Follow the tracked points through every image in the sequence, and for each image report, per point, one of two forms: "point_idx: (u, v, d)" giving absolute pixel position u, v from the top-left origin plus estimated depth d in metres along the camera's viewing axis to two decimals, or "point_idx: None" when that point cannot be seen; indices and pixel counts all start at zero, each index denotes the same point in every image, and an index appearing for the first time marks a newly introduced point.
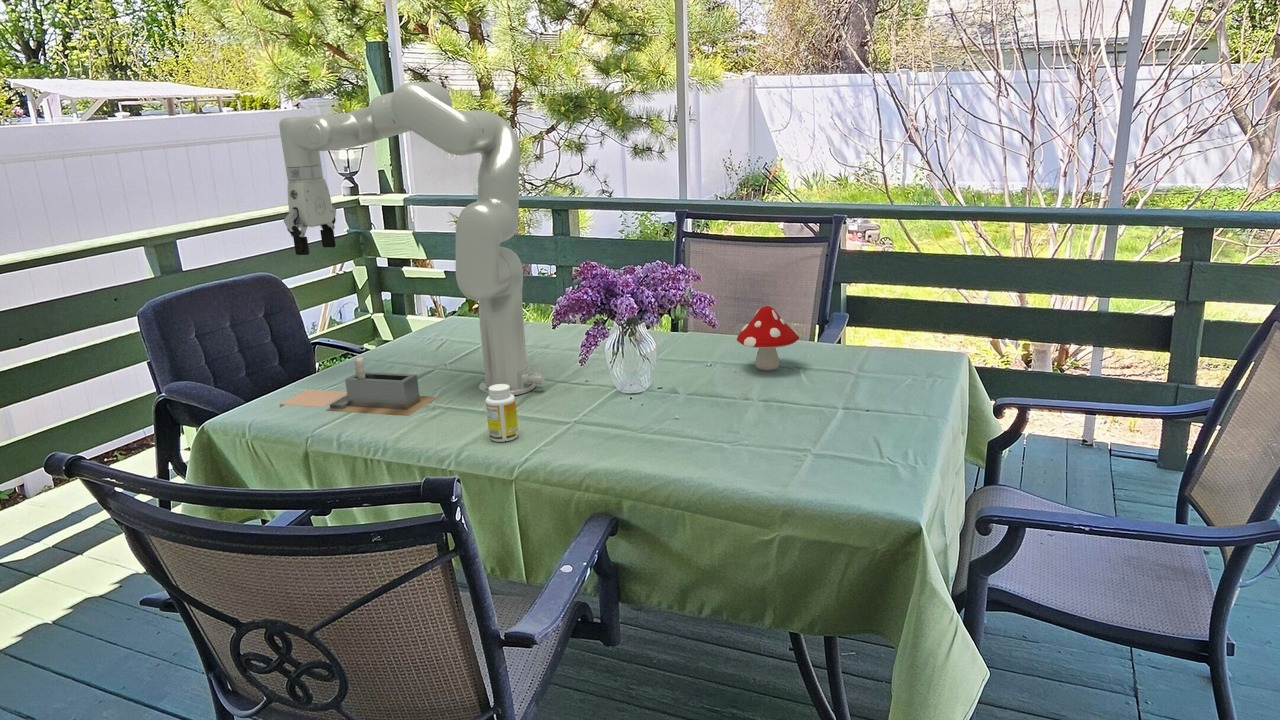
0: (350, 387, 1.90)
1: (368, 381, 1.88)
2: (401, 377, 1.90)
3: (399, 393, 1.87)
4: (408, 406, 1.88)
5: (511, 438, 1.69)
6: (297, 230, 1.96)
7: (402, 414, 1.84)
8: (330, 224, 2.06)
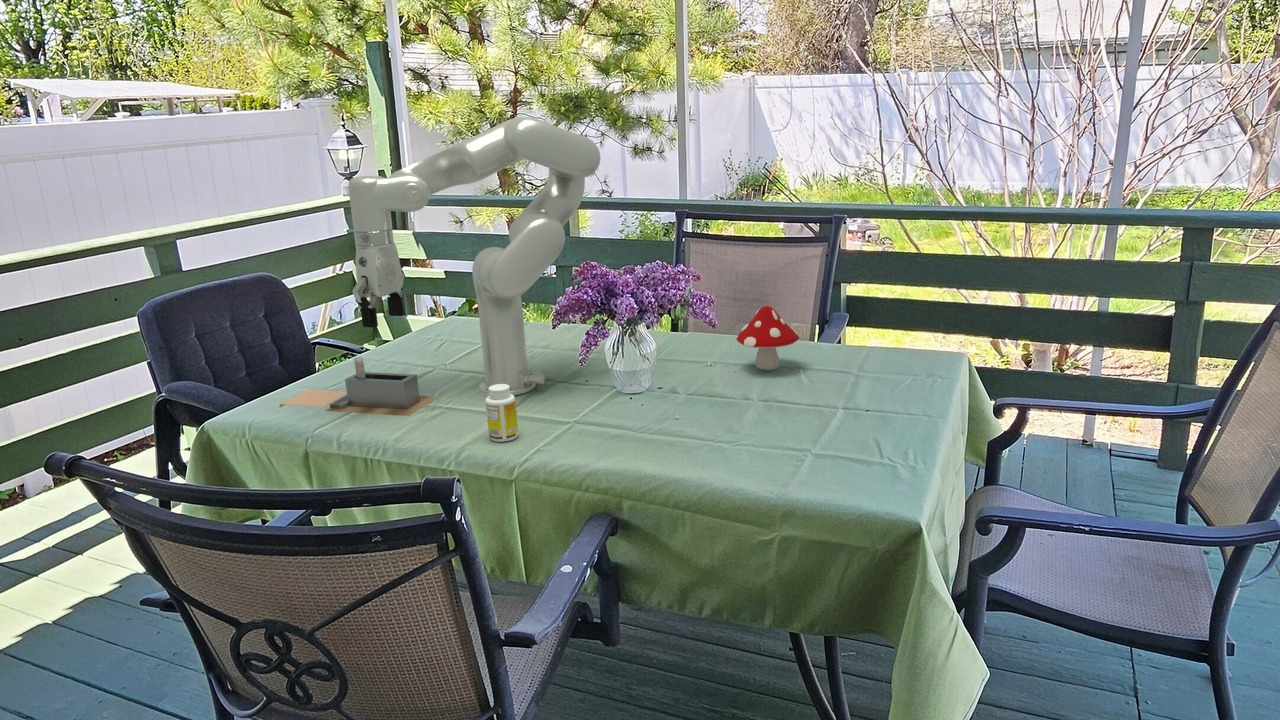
0: (350, 387, 1.90)
1: (368, 381, 1.88)
2: (401, 377, 1.90)
3: (399, 393, 1.87)
4: (408, 406, 1.88)
5: (511, 438, 1.69)
6: (366, 301, 1.78)
7: (402, 414, 1.84)
8: (398, 291, 1.88)
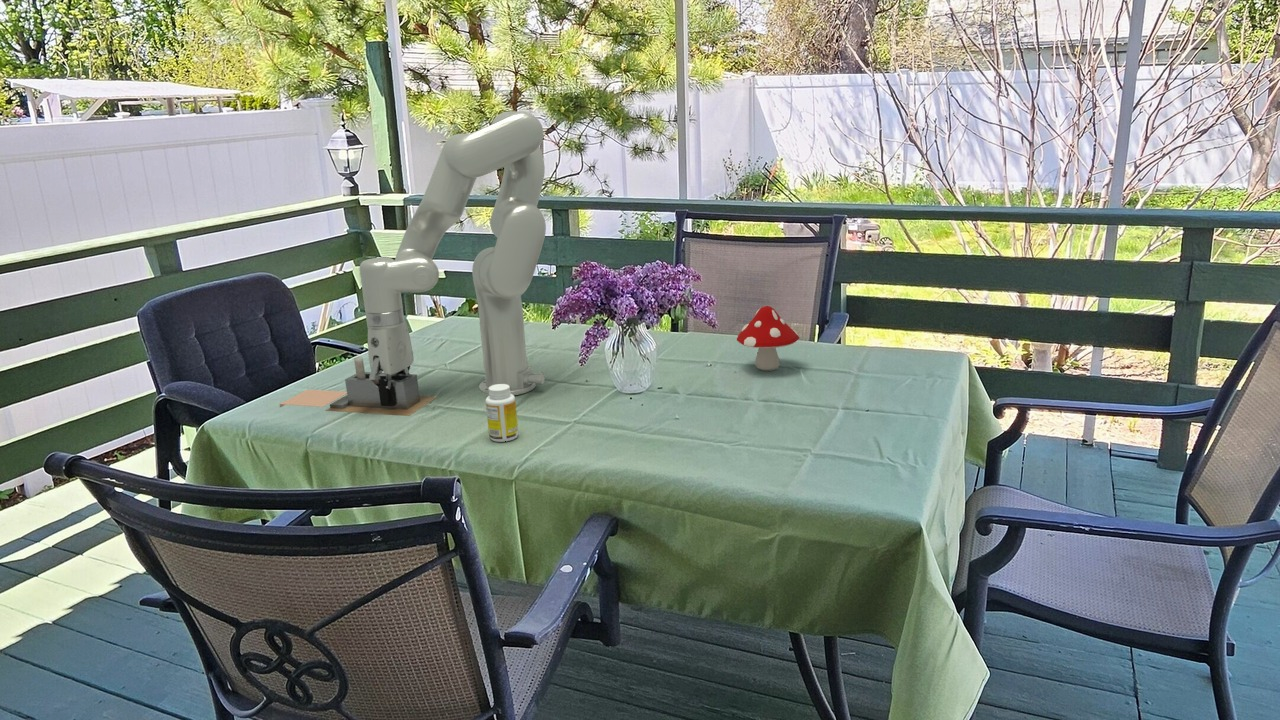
0: (350, 387, 1.90)
1: (368, 381, 1.88)
2: (401, 377, 1.90)
3: (399, 393, 1.87)
4: (408, 406, 1.88)
5: (511, 438, 1.69)
6: (384, 382, 1.85)
7: (402, 414, 1.84)
8: (406, 371, 1.92)
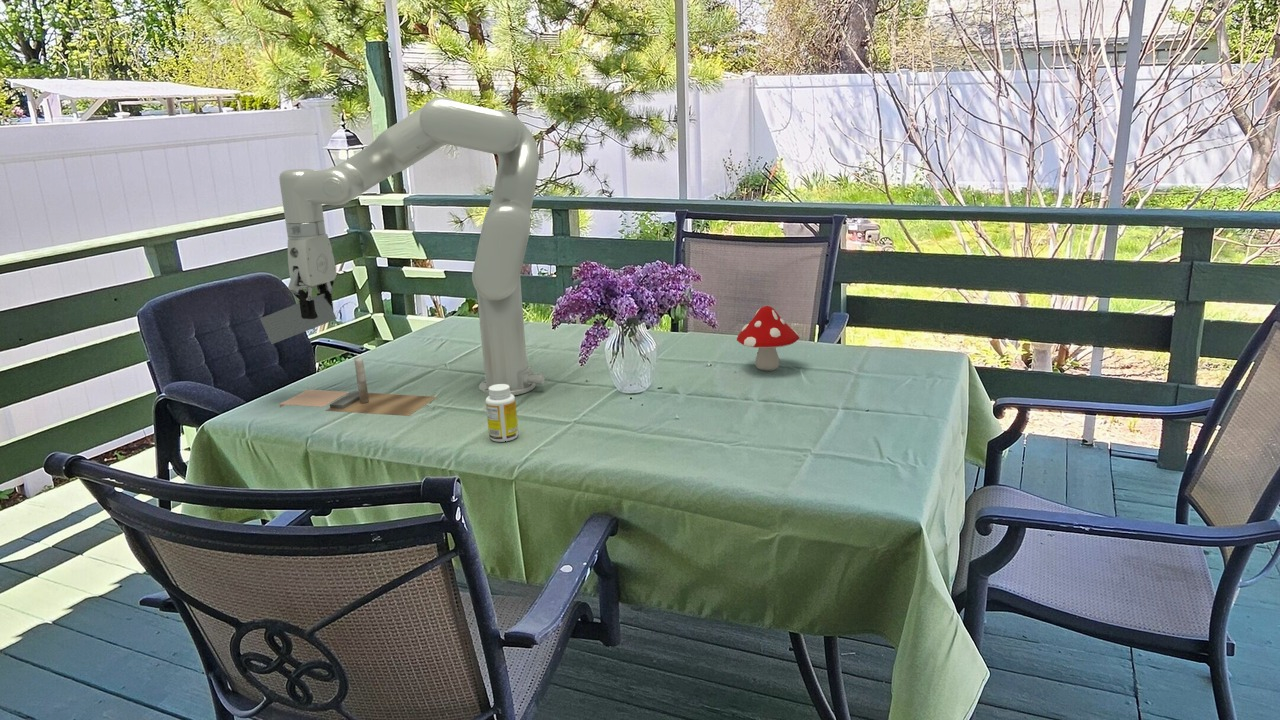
0: (266, 324, 1.92)
1: (280, 311, 1.90)
2: None
3: None
4: (322, 322, 1.89)
5: (511, 438, 1.69)
6: (304, 294, 1.85)
7: (402, 414, 1.84)
8: (328, 286, 1.92)
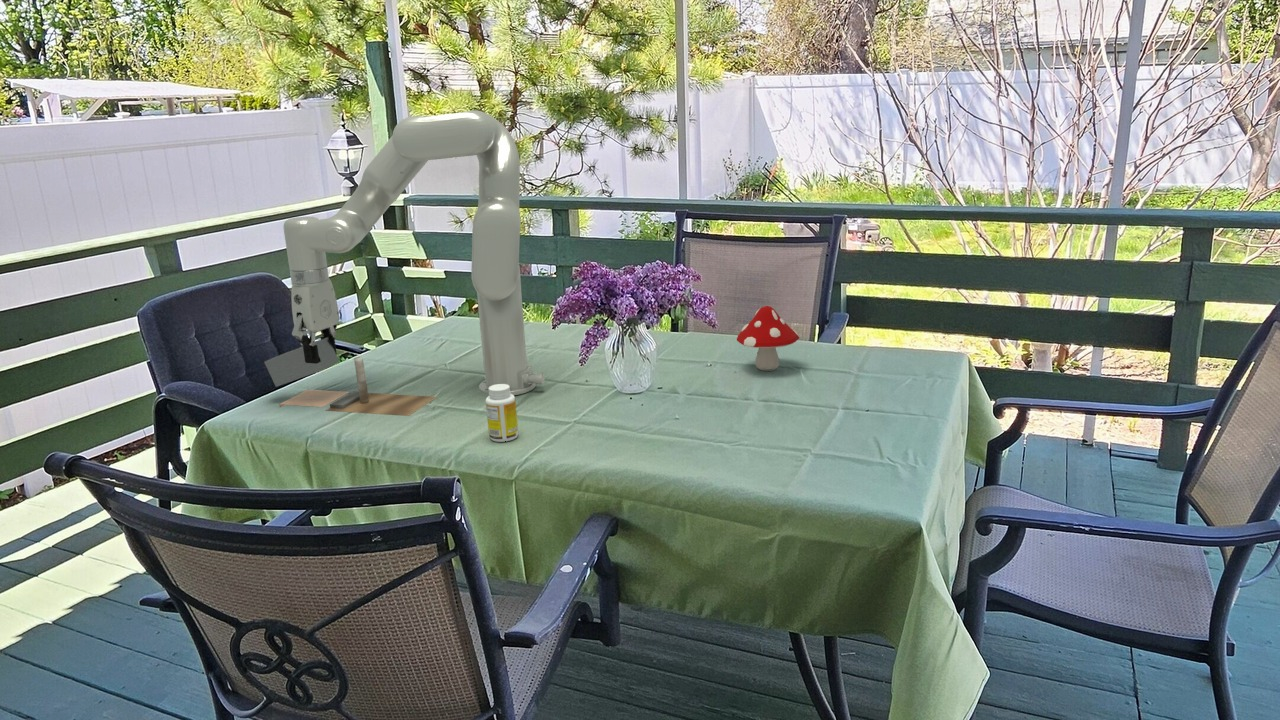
0: (271, 367, 1.95)
1: (284, 355, 1.93)
2: None
3: None
4: (326, 366, 1.92)
5: (511, 438, 1.69)
6: (307, 339, 1.88)
7: (402, 414, 1.84)
8: (332, 330, 1.95)
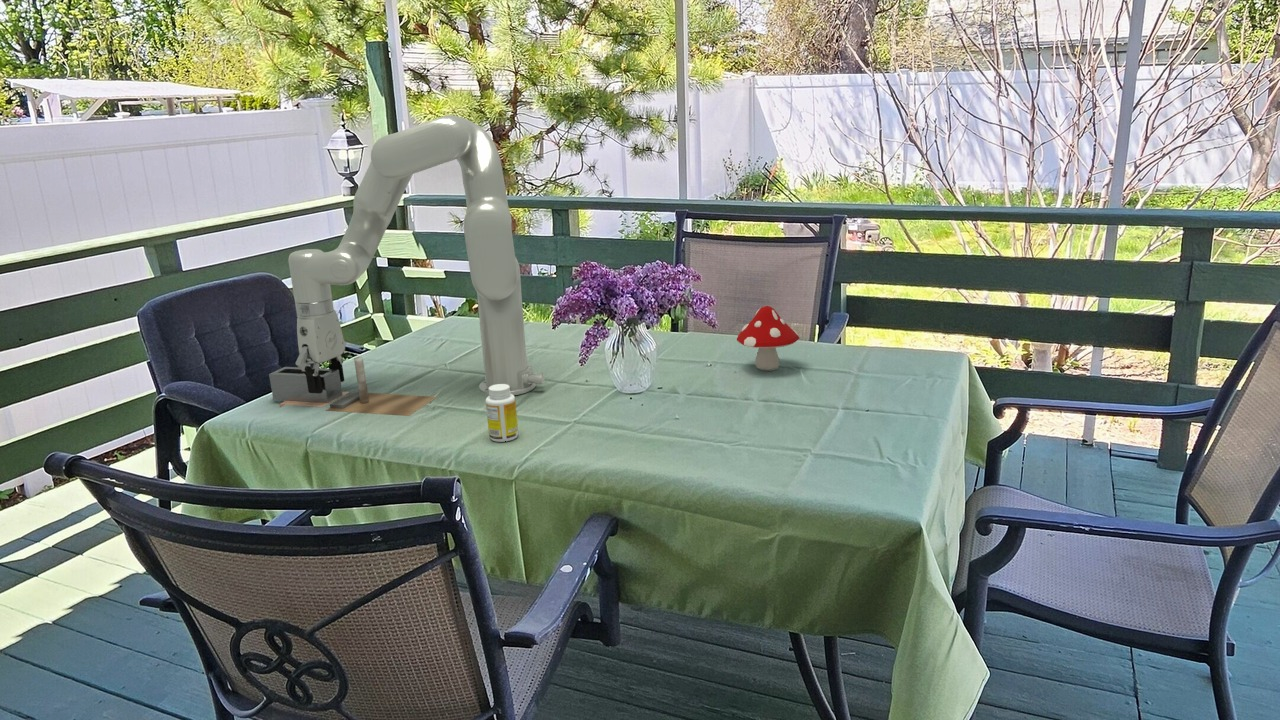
0: (274, 381, 1.96)
1: (291, 376, 1.94)
2: (323, 372, 1.97)
3: None
4: (329, 400, 1.94)
5: (511, 438, 1.69)
6: (310, 370, 1.89)
7: (402, 414, 1.84)
8: (339, 358, 1.98)
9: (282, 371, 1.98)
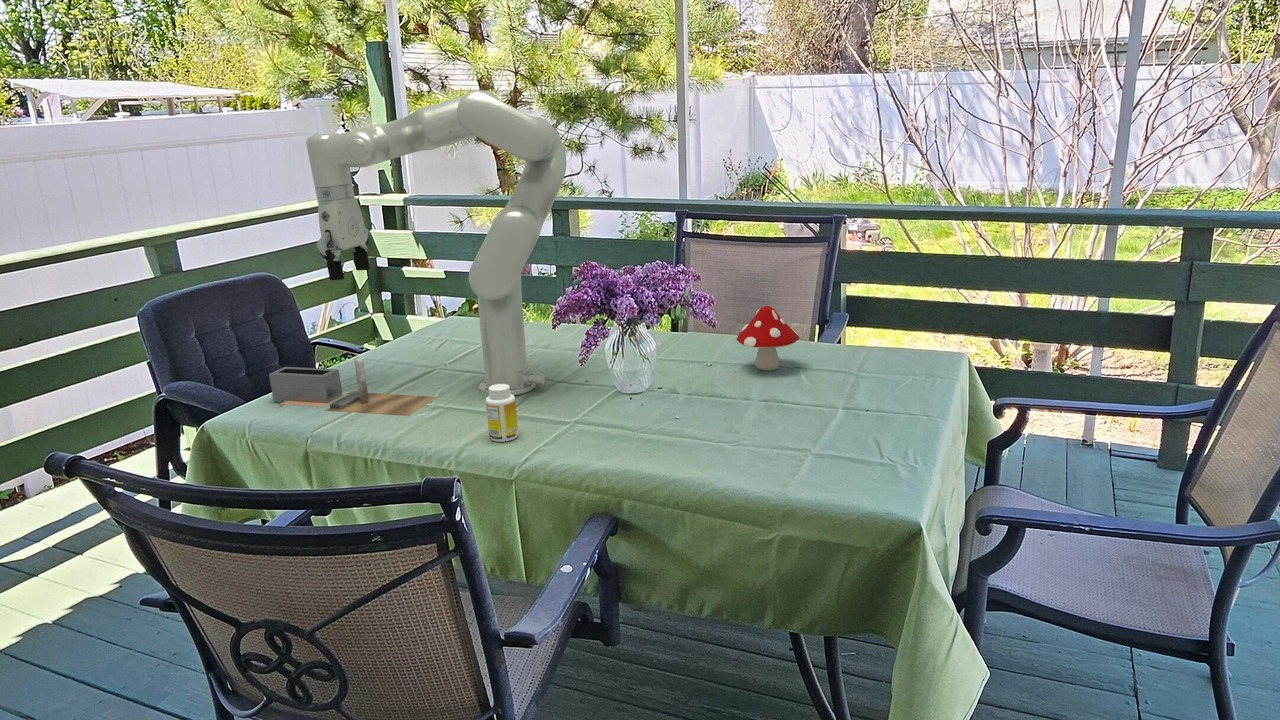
0: (274, 381, 1.96)
1: (291, 376, 1.94)
2: (323, 372, 1.97)
3: (320, 387, 1.93)
4: (329, 400, 1.94)
5: (511, 438, 1.69)
6: (331, 254, 1.84)
7: (402, 414, 1.84)
8: (363, 245, 1.94)
9: (282, 371, 1.98)
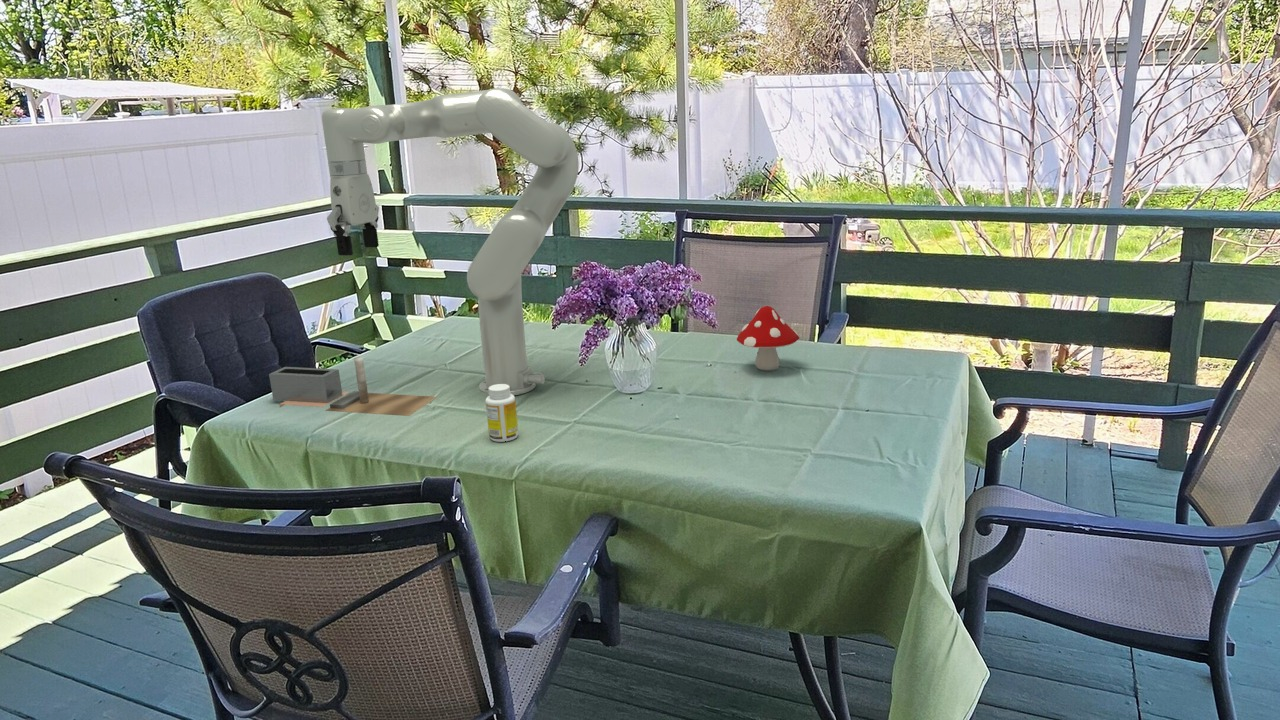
0: (274, 381, 1.96)
1: (291, 376, 1.94)
2: (323, 372, 1.97)
3: (320, 387, 1.93)
4: (329, 400, 1.94)
5: (511, 438, 1.69)
6: (341, 229, 1.84)
7: (402, 414, 1.84)
8: (373, 222, 1.94)
9: (282, 371, 1.98)
